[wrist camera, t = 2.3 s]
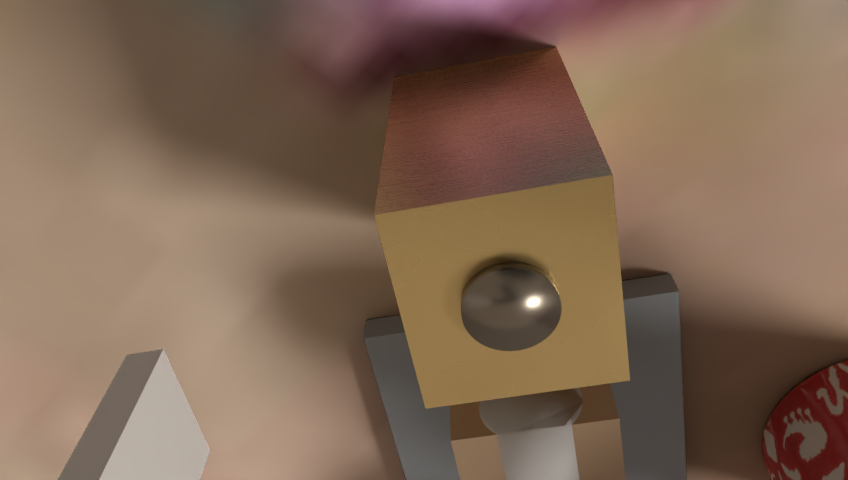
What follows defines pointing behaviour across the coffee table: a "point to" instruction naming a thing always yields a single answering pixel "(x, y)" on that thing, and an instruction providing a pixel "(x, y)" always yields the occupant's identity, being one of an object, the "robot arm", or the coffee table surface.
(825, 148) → the coffee table surface
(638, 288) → the shaft bench
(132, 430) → the robot arm
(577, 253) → the coupler
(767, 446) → the mug
